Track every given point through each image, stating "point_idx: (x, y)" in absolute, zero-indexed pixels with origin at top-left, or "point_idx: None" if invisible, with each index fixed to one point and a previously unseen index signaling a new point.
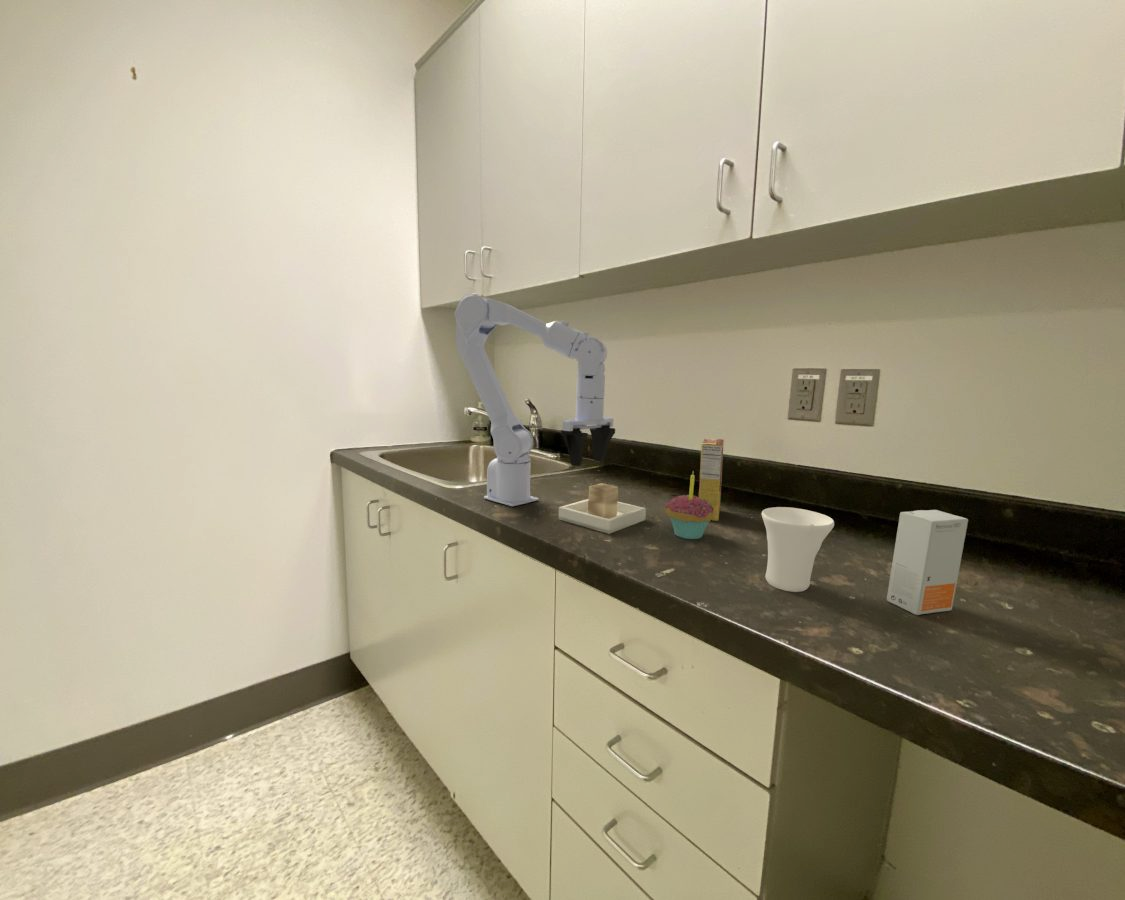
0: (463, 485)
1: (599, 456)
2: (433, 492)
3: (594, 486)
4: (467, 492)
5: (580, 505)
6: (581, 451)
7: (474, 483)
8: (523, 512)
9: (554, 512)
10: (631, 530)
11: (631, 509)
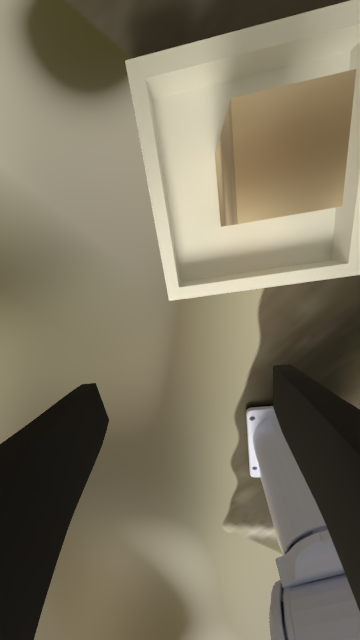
0: None
1: (88, 414)
2: None
3: (324, 186)
4: None
5: (263, 273)
6: (349, 418)
7: (252, 537)
8: (347, 360)
9: (292, 320)
10: (266, 16)
11: (155, 133)
